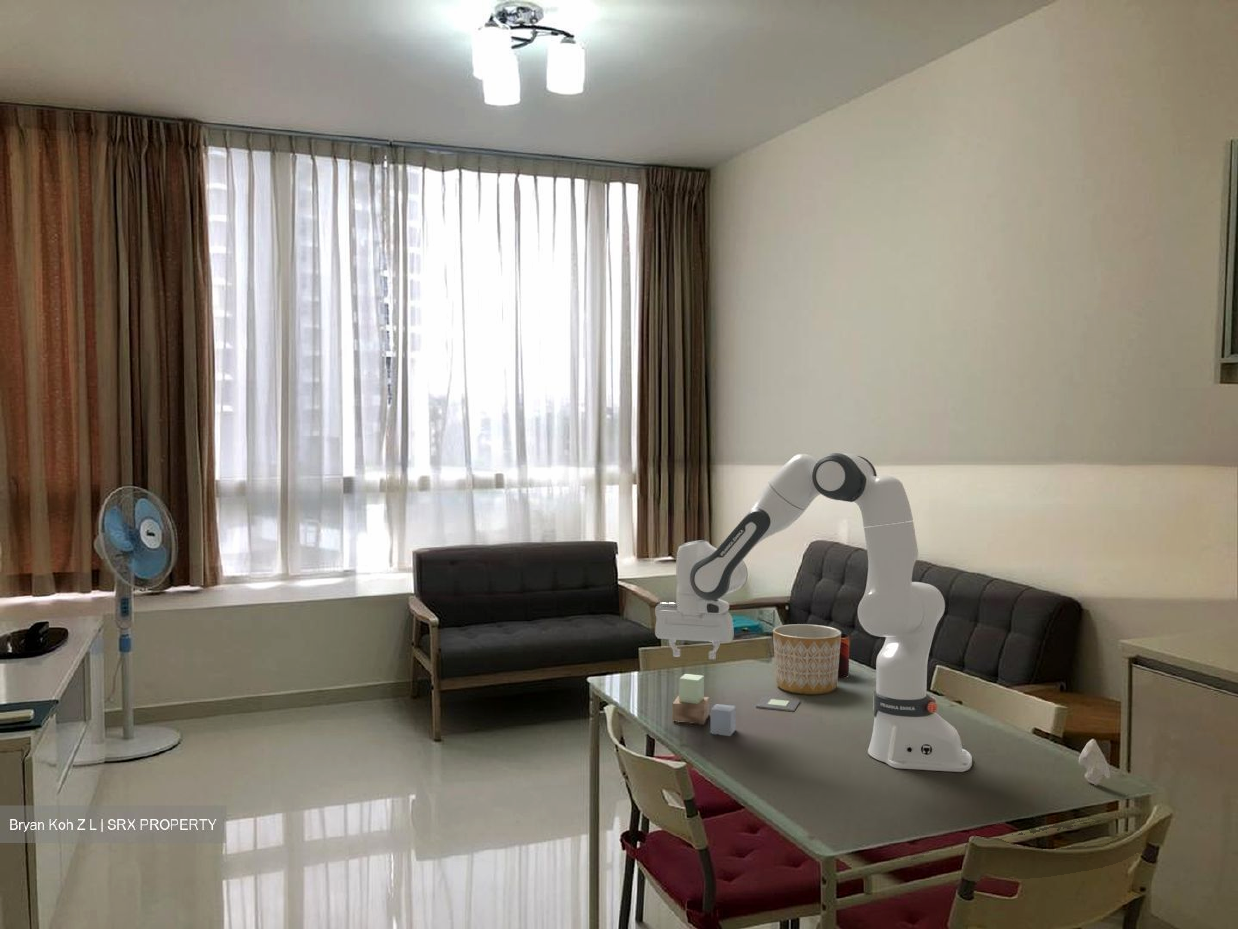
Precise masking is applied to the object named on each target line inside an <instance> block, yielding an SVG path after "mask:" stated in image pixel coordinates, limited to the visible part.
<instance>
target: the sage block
mask: <svg viewBox="0 0 1238 929" xmlns="http://www.w3.org/2000/svg"><path fill="white" fill-rule="evenodd" d="M678 681H679V683H678V685H679V686H678V687H679V688H678V690H679V693H678V695H679V702H686V703H694V704H698V703H700V702H701V701H702V700H703V699H704V697H705V695H704V694H705V692H704V691H705V688H704V687H705V676H704V675H700V674H691V673H684V674H683V675H681V677H680V678H678Z"/></svg>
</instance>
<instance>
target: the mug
mask: <svg viewBox="0 0 1238 929" xmlns="http://www.w3.org/2000/svg"><path fill="white" fill-rule="evenodd" d="M848 675H849V676H850V635H849V634H847V633H843V632H841V644H840V655H839V667H838V679H837V680H840V679H846V678H848V677H849V676H848ZM847 676H848V677H847ZM845 677H846V678H845ZM839 678H840V679H839Z"/></svg>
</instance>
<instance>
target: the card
mask: <svg viewBox="0 0 1238 929" xmlns="http://www.w3.org/2000/svg"><path fill="white" fill-rule="evenodd" d="M800 703H801V699H797V698H796V699H793V698H783V697H776V696H775V697H774V696H765V695H763V697H762V698H761V699H760V701H759V702H758V703H757V704H756V705H755V708H756V709H762V710H763V709H766V710H773V711H774V710H775V711H785V712H792V713H793V712H795V710H796V709H797V707H798V706H799V705H800Z"/></svg>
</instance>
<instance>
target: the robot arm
mask: <svg viewBox="0 0 1238 929" xmlns="http://www.w3.org/2000/svg"><path fill="white" fill-rule="evenodd" d="M820 495H822V496H823V497H825V498H828V499H830V500H833V501H834V500H835V501H840V502H841V501H843V502H847V503H848V502H849V503H856V505H857V506H858V508H859V510H860V514H861V517H862V524H863V530H864V538H865V544H866V552H867V561H868V562H867V563H868V565H867V568H868V569H867V577H866V578H867V579H866V586H865V590H864V592H863V593H864V595H863V596H862V598H861V600H860V601H859V604H858V605H857V606H858V607H857V618H858V621H859V624H860V626H861V627H862V628H863V630H864V631H865V632H867V633H868V634H869V635H871V636H874V637H880V638H881V637H883V638H885V641H884V643H883V646H882V648H880V651H878V652H879V653H878V654H877V656H876V659H875V660H876V662H875V666H876V667H875V668H876V669H875V690H874V693H873V696H872V702H873V704H872V709H873V710H872V713H873V717H874V721H873V728H872V735H871V738H870V742H869V746H868V749H867V753H868V755H869V756H870V757H871V758H874V759H875V760H878V761H880V762H883V763H886V764H887V765H888V766H890V767H891V768H895V769H907V770H921V771H922V770H923V771H936V772H937V771H941V772H956V773H964V772H966V771H969V770H970V769H971V767H972V766H973V757H972V755H971V753H970V752H969V751H968V750H966V749H964V748H963V747H962V741H961V740H962V739H961V737H960V735H959V732H958V730H957V729H956V728H955V727H954V726H953V725H951V723H949V722H948V721H946V720H945V719H944V718H942V717H941V716H940V715H939V714H938V713H936V712H937V710H938V705H937V702H936V700H935V698H936V697H935V696H930V694H927V680H928V678H927V677H928V675H927V674H928V660H929V654H930V651H931V646H932V642H933V638H934V635H935V631H936V629H937V626H938V623H939V621H940V620H941V618H942V617H943V615H944V613H945V608H946V601H945V598H944V596H943V594H942V593H941V591H940V590H939V589H938V588H937V587H936V586H935V585H932V584H929V583H925V582H920V581H913V580H912V579H913V571H914V566H915V563H916V562H917V560H918V558H919V549H918V541H917V536H916V530H915V523H914V520H913V518H914V517H913V513H912V509H911V505H910V502H909V501H910V500H909V498H908V495H907V492H906V490H905V486H904V485H903V483H902V482H901V480H900V479H898V478H896V477H893V476H888V475H879V476H878V475H877V471H876V468H875V467H874V465H873V463H871V462H870V461H869V460H868V459H867V458H865V457H863V456H861V455H856V454H853V453H849V452H842V453H841V452H839V453H838V452H832V453H829V454H826V455H824V456H822V457H821V458H819V459H817V458H816V457H814V456H812V455H810V454H805V453H798V454H795V455H794V456H793V457H791V459H789V460H788V461H787V462H786V463H785V464H784V465H783V466H782V467H781V468H780V469H778V471H777V472H776V473H775V474H774V475H773V476H772V478H771V479H770V480H769V482H768V483H767V484H766V485H765V487H764V488H763V489H762V490H761V492H760V493H759V495H758V496H757V498H756V499H755V501H754V503H753V504H752V505H751V507H750V509H749V510H748V511H747V512H746V514H745V515H744V516H743V518H742V519H741V521H740V522H739V523H738V524H737V525H736V527H734V529H733V530H732V531H731V532H730V534H729V535H727V537H726V538H725V540H723V541H722V543H721V544H720V545H719V547H715V546H713V545H711V544H710V542H709V541H708V540H704V539H699V540H692V541H689V542H688V541H687V542H684V543H682V544H680V546H678V549H677V553H676V562H675V563H676V564H675V575H676V579H677V580H676V581H677V588H676V594H675V595H676V599H675V600H676V601H675V602H665V601H664V602H663V601H662V602H660V603H658V604H657V605H656V606H655V608H654V610H655V611H654V612H655V613H654V615H655V618H656V621H655V627H654V628H655V629H654V635H655V637H657V639H662V640H663V639H664V640H668V644H669V647H670V648H671V650H672V656H673V657H676V658H677V657H678V658H679V657H681V648H678V647H677V645H676V644H675V643H676V642H677V640H678V641H679V640H680V641H692V642H693V641H696V642H710V643H712V646H713V649H712V650H709V651H708V659H709V660H715V659H716V657H717V651H718V649H719V648H720V645H721V643H730V642H731V641H732V640H733V639H734V637H735V632H734V631H735V629H734V622H733V617H732V614H731V612H729V609H730V602H728V601H726V600H724V599H721V597H724V596H725V595H729V594H731V593H733V592H735V591H737V590H739V589H740V588H742V587H744V585H745V584H746V582H747V579H748V574H749V573H748V568H747V565H746V563H745V561H744V560H745V558H746V557H747V556H748V555H749V554H750V552H751V551H752V550H753V549H754V548H755V547H756V546H757V545H758V544H760V543H761V542H762V541H763V540H765V539H767V538H769V537H771V536H773V535H775V534H777V533H780V532H782V531H784V530H786V529H787V528H789V527H790V526H791V525H792V524H794V523H795V522H796V521H797V520H799V518H800V517H801V516H803V514H804V513H805V512H806V510H807V509H808V507H809V506H810V505H811V504H812V502H813V501H814V500H815V499H816V498H817V497H818V496H820Z"/></svg>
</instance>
